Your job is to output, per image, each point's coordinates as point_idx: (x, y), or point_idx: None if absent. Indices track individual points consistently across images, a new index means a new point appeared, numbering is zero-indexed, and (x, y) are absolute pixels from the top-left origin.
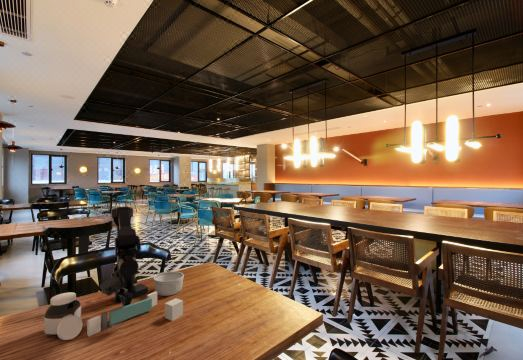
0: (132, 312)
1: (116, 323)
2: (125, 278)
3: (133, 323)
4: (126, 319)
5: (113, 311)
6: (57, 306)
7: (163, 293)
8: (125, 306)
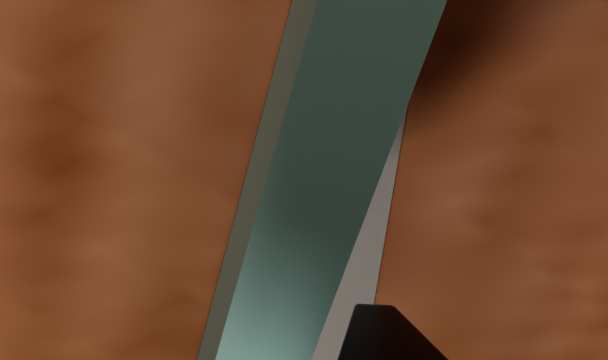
0: (210, 327)
1: None
2: None
3: (70, 185)
4: None
5: (322, 1)
6: None
7: None
8: (279, 350)
